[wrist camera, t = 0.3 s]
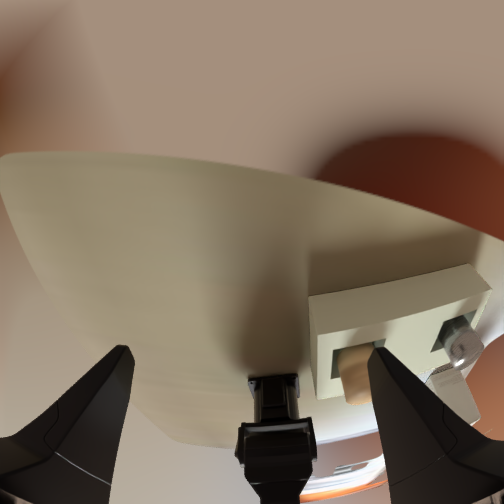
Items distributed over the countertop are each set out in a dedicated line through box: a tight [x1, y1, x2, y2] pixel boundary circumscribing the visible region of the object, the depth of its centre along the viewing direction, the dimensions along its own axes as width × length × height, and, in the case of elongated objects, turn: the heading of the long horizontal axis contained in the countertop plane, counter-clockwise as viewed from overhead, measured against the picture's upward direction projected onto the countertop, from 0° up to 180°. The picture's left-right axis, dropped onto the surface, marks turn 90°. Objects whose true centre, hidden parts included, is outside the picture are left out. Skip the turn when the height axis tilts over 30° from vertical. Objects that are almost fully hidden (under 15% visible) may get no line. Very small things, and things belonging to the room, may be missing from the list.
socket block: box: [308, 263, 492, 400], centre depth 25 cm, size 12×20×5 cm, turn 100°
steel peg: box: [437, 315, 484, 371], centre depth 21 cm, size 4×4×5 cm
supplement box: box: [425, 367, 481, 426], centre depth 32 cm, size 7×7×13 cm
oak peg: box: [336, 342, 374, 405], centre depth 22 cm, size 4×4×5 cm
